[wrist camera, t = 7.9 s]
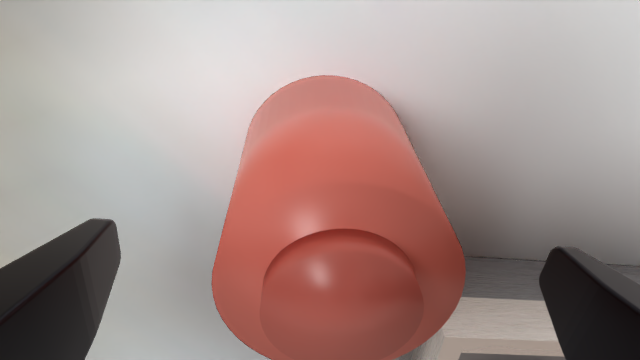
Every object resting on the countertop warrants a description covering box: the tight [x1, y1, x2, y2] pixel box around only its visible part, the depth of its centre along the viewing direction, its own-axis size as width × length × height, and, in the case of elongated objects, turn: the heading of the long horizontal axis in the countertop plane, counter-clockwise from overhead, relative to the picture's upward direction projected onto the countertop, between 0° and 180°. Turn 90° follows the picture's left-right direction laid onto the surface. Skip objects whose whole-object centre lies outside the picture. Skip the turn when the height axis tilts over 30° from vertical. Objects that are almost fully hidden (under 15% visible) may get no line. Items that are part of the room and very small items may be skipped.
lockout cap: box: [212, 75, 466, 360], centre depth 10 cm, size 5×5×6 cm
